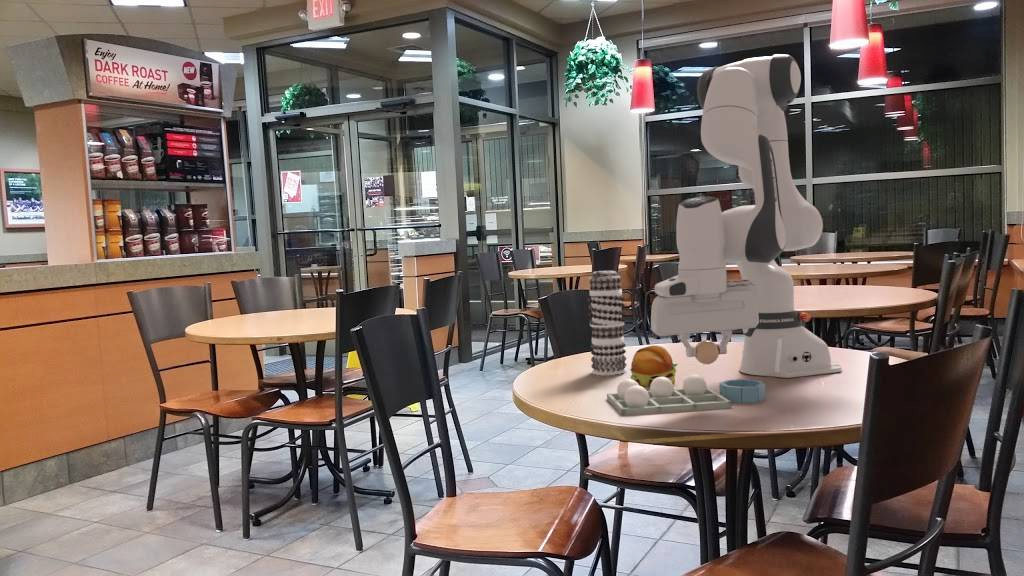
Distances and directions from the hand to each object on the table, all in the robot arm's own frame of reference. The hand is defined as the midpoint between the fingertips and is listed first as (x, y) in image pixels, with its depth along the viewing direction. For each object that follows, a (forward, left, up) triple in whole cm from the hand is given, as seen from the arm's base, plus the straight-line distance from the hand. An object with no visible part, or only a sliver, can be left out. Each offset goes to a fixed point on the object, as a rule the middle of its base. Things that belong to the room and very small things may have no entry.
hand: (706, 355), depth 145 cm
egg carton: (+7, -3, -10) cm, 13 cm away
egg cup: (-8, -3, -10) cm, 13 cm away
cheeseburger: (+5, -23, -11) cm, 26 cm away
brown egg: (0, 0, -2) cm, 2 cm away
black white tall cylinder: (+11, -43, -10) cm, 45 cm away
